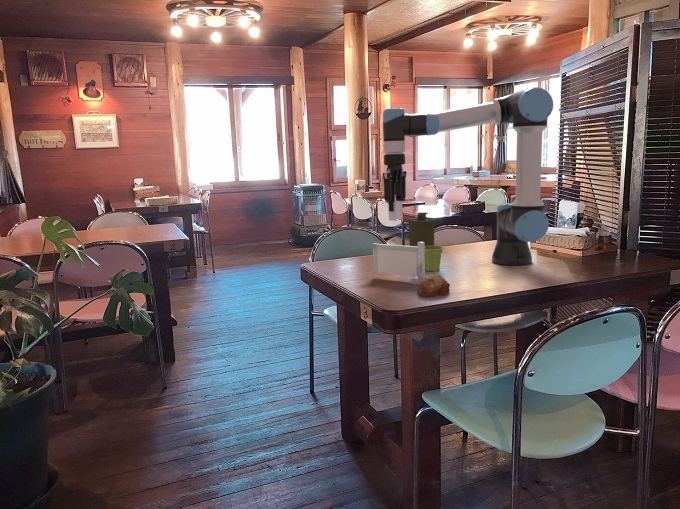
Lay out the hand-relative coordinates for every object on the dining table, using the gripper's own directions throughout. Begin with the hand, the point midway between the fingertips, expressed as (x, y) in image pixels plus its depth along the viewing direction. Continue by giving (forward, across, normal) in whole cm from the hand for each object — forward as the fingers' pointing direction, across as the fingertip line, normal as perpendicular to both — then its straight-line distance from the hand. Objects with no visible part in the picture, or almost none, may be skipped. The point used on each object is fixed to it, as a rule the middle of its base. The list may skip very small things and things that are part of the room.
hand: (395, 219), depth 200 cm
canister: (+21, -28, -4) cm, 35 cm away
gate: (+19, +6, +3) cm, 20 cm away
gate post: (+21, +6, +13) cm, 25 cm away
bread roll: (+21, +18, +23) cm, 36 cm away
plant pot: (+21, -14, +7) cm, 26 cm away
